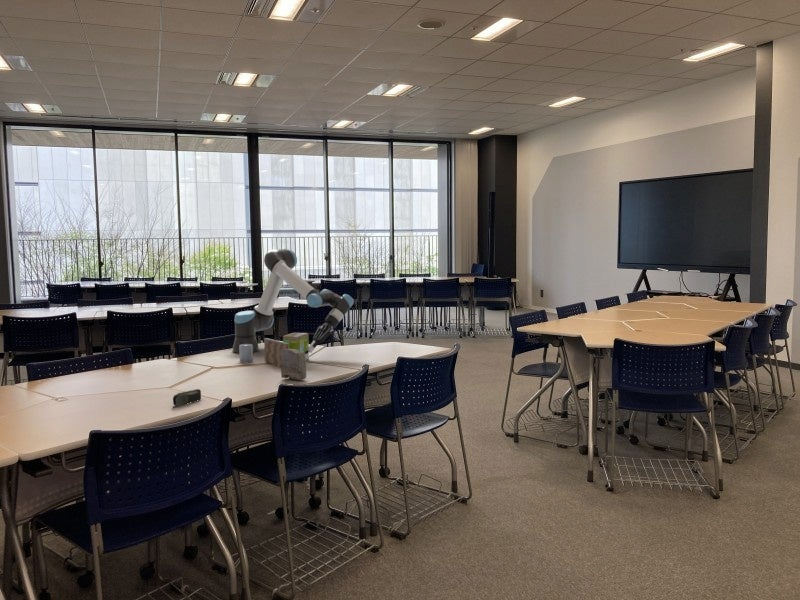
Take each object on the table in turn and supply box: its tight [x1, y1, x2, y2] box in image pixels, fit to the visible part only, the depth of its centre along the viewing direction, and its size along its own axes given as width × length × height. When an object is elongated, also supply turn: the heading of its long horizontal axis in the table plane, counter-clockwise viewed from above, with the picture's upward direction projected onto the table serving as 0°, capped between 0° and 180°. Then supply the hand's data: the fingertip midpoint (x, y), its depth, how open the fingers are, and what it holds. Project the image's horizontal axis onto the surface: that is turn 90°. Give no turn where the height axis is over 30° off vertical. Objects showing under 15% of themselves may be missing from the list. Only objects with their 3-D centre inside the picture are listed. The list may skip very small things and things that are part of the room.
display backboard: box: [263, 337, 289, 367], centre depth 329 cm, size 24×2×13 cm, turn 39°
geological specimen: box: [280, 349, 307, 381], centre depth 292 cm, size 11×6×15 cm, turn 61°
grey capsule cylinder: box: [239, 344, 254, 363], centre depth 340 cm, size 7×7×9 cm
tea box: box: [282, 332, 310, 361], centre depth 339 cm, size 15×10×15 cm
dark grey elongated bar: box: [172, 388, 202, 409], centre depth 251 cm, size 5×3×15 cm
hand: (309, 351), depth 341 cm, fingers closed
